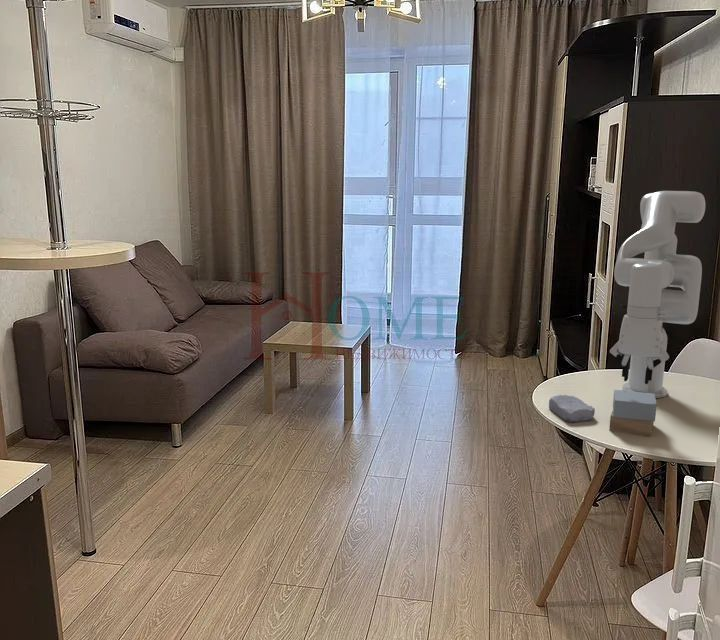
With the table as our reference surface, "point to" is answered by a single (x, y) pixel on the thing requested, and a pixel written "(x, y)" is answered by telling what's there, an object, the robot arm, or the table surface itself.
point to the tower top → (634, 405)
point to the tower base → (631, 426)
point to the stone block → (571, 408)
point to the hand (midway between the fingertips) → (636, 380)
